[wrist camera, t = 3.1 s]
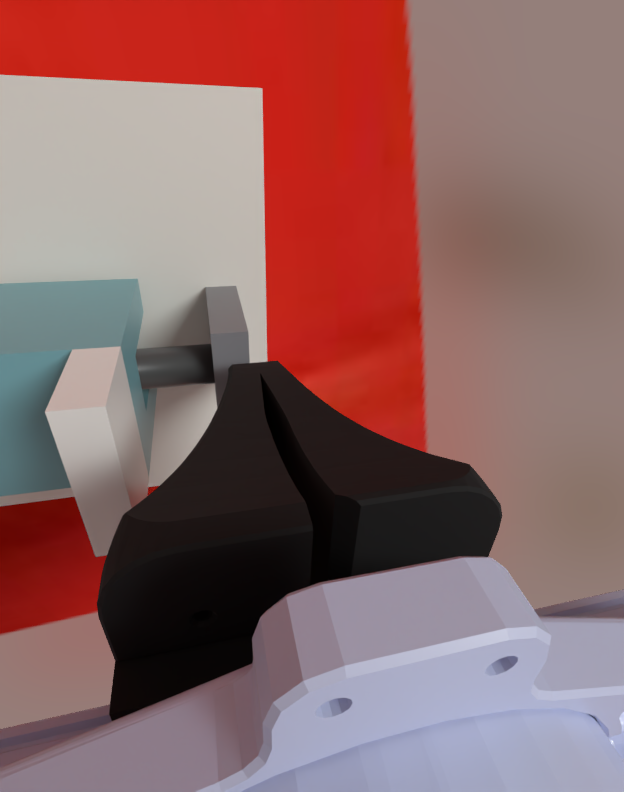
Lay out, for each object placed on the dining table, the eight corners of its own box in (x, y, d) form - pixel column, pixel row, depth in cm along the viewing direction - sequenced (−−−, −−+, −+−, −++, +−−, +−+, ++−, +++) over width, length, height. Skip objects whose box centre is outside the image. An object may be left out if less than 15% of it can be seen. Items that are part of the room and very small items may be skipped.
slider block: (157, 388, 16) (142, 549, 10) (32, 399, 15) (-58, 580, 10) (137, 278, 14) (105, 405, 8) (-10, 284, 13) (-158, 430, 7)
